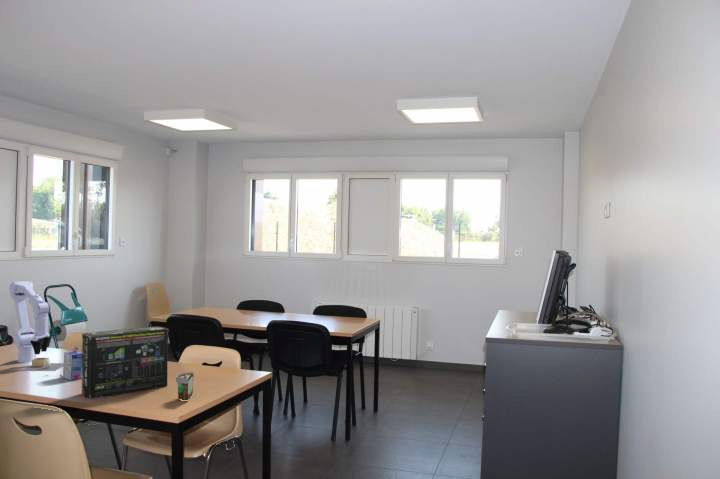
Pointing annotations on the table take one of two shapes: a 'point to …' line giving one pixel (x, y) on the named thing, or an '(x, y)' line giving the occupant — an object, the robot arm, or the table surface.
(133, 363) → the router box
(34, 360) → the wooden collar
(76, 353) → the ink cartridge box
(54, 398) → the table surface
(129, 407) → the table surface
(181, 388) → the food container
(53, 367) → the board
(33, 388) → the table surface
